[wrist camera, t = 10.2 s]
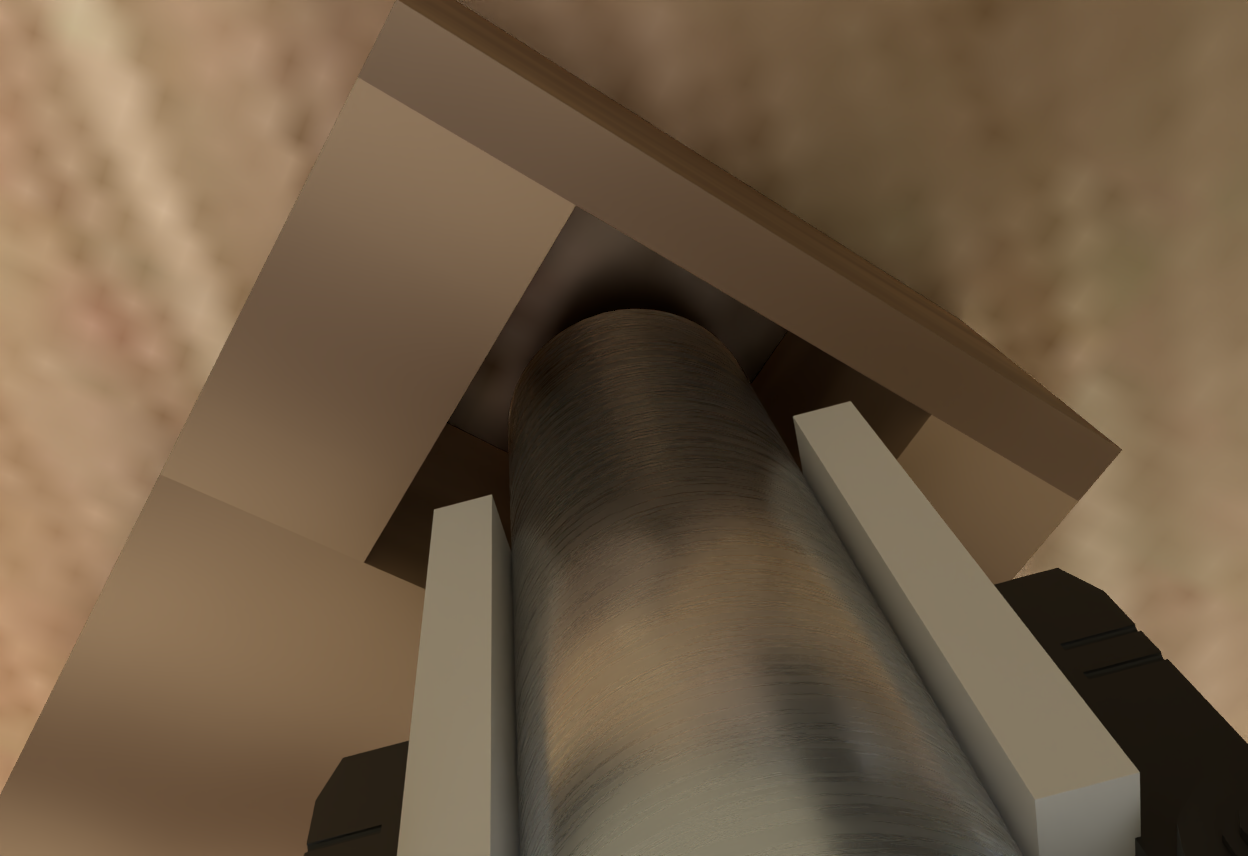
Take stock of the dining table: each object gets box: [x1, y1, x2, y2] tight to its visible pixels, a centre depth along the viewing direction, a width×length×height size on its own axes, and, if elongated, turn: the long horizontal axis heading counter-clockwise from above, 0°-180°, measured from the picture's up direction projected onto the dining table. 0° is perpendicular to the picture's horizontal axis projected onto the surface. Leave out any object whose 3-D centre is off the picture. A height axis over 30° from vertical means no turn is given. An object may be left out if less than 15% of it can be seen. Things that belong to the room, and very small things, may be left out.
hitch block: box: [0, 0, 1122, 856], centre depth 18 cm, size 17×12×8 cm
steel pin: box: [508, 309, 1024, 856], centre depth 10 cm, size 5×5×16 cm
